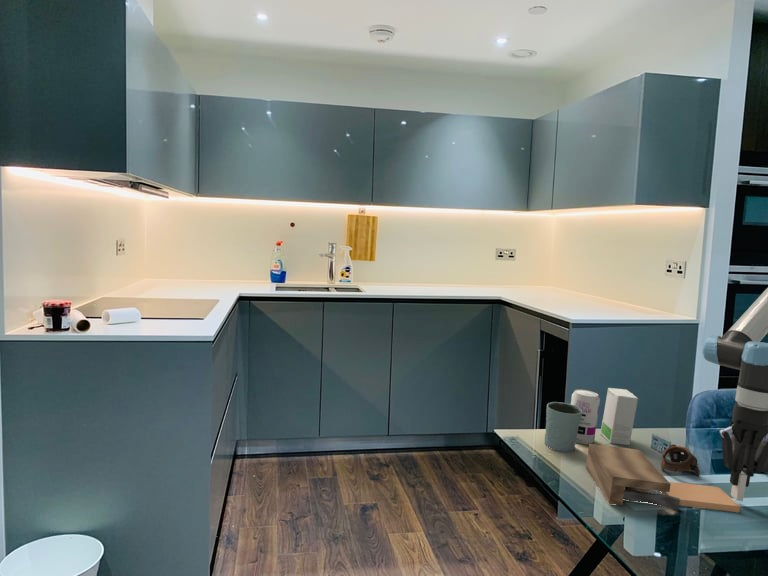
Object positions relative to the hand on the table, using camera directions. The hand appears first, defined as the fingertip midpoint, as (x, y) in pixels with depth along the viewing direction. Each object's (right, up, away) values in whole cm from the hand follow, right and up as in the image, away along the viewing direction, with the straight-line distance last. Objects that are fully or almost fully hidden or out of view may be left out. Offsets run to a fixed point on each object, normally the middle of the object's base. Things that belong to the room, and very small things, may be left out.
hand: (736, 497), depth 135 cm
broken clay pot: (-5, +1, +17) cm, 18 cm away
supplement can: (-26, +5, +35) cm, 44 cm away
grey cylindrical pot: (-35, +5, +27) cm, 45 cm away
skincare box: (-14, +4, +37) cm, 40 cm away
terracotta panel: (-10, -1, +1) cm, 10 cm away
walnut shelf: (-25, +1, +2) cm, 26 cm away
